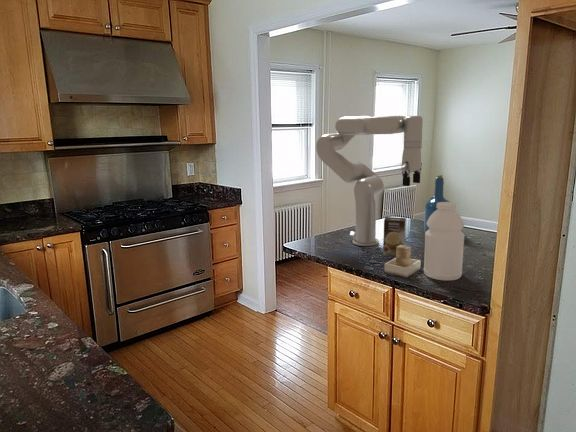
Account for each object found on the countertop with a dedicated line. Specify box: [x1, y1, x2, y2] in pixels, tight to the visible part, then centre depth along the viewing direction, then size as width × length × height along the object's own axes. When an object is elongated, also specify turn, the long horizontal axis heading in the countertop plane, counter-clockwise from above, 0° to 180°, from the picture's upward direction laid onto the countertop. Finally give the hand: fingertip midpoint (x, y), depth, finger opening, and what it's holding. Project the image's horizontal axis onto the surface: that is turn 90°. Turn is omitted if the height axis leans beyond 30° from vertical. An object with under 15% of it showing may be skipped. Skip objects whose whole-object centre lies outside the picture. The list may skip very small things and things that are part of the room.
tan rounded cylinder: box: [395, 245, 412, 267], centre depth 170 cm, size 4×4×9 cm
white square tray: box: [384, 257, 422, 278], centre depth 171 cm, size 10×12×4 cm
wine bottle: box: [423, 174, 450, 233], centre depth 220 cm, size 14×13×30 cm
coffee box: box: [382, 216, 407, 257], centre depth 190 cm, size 9×6×16 cm
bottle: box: [423, 201, 466, 282], centre depth 163 cm, size 14×14×28 cm
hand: (411, 184), depth 190 cm, fingers open, 9 cm apart
